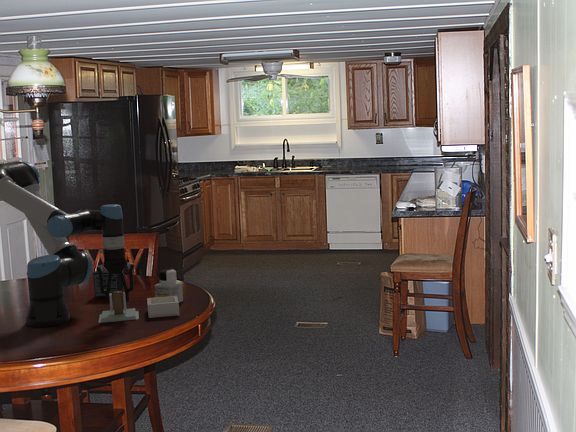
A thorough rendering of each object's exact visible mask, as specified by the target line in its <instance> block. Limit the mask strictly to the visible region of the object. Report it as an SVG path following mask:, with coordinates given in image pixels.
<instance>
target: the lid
mask: <svg viewBox="0 0 576 432" xmlns="http://www.w3.org/2000/svg"><path fill="white" fill-rule="evenodd" d="M112 293H113V297H112V304H113V312H112V313H111V310H102V312H101V314H102V318H101V322H102V323H111V321H113V322H123V320H124V321H134V319H135V320H137V319H136V311H137V310H136V307H134V308H133V307H132V308H126V311H124V299H123V295H122V291H114V292H112Z"/></svg>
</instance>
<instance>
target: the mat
mask: <svg viewBox="0 0 576 432" xmlns="http://www.w3.org/2000/svg"><path fill="white" fill-rule="evenodd" d="M139 315H140V314H139V310H136V319H134V320H139V319H140V317H139ZM101 318H102V313H101V314H99V318H98V323H101V324H102V323H103V322H101ZM134 320H133V321H134ZM123 321H125V320H123ZM123 321H122V322H123ZM111 322H112V323H113V322H114V321H111ZM111 322H110V323H111Z"/></svg>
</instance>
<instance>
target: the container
mask: <svg viewBox="0 0 576 432" xmlns="http://www.w3.org/2000/svg"><path fill="white" fill-rule="evenodd" d="M158 279H159V283H157V284H154V294H155V295H154V298H156V297H167V296H177V298H178V302H179V304H180V303H182V302H183V301H184V297H183V295H184V293H183V283H182V282H181V281H178V279H177V271H176V270H175V269H172V268H166V269H161V270H160V271H159V272H158Z"/></svg>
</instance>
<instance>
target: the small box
mask: <svg viewBox="0 0 576 432" xmlns="http://www.w3.org/2000/svg"><path fill="white" fill-rule="evenodd" d="M102 273H103V282H104V290H107V283H108V276H109V272H108V271H107V269H103V271H102ZM92 275H93V276H92V277H93V292H94V298H95V299H96V298H98V299H100V298H101V299H102V298H105V299H106V294H102V293H101V290H100V280H99V273H98V271H97V270H96V271H94V272H92ZM114 291H122V296H123V292H124V287H123V284H122V280H121V277H120V274H119V273H114V274H112V279H111V286H110V293H112V292H114ZM112 298H113V293H112Z"/></svg>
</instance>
